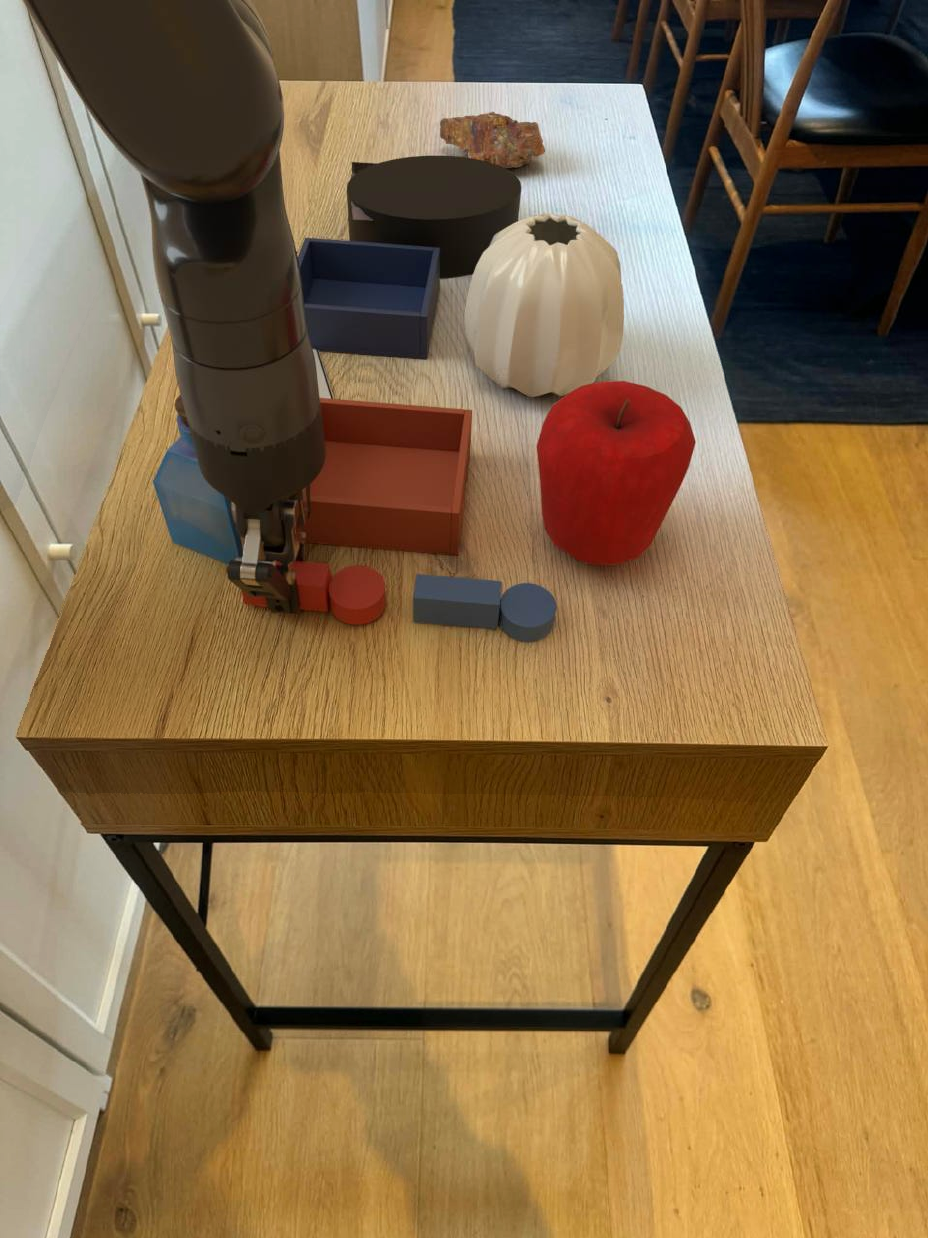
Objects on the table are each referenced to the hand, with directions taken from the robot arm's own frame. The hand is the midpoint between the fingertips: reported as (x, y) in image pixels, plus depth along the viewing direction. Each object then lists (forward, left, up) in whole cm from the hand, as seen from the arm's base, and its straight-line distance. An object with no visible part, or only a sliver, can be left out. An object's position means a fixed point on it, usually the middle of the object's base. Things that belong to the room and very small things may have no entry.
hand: (288, 594), depth 64 cm
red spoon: (+2, 0, 0) cm, 2 cm away
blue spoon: (+14, 0, -1) cm, 14 cm away
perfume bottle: (-6, +6, -1) cm, 9 cm away
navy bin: (0, +36, -1) cm, 36 cm away
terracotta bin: (+5, +12, -1) cm, 13 cm away
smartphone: (-5, +24, -1) cm, 25 cm away
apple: (+22, +9, -1) cm, 24 cm away
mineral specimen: (+10, +70, -1) cm, 70 cm away
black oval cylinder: (+5, +51, -1) cm, 51 cm away
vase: (+17, +30, -1) cm, 34 cm away
